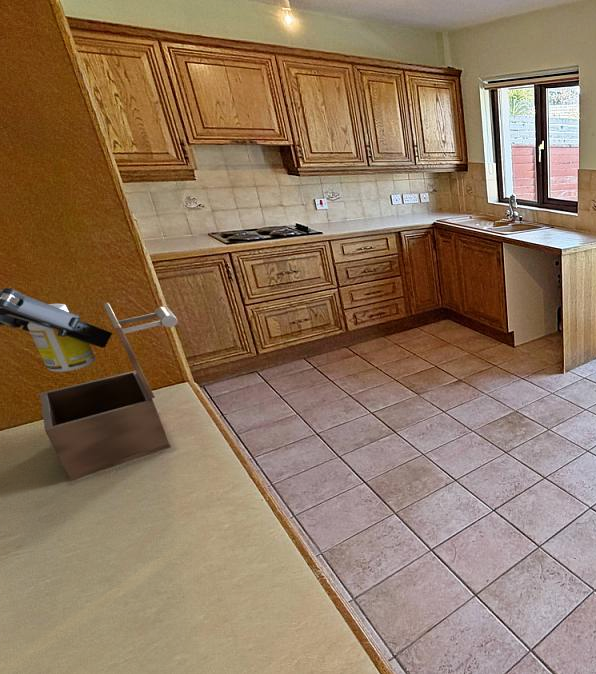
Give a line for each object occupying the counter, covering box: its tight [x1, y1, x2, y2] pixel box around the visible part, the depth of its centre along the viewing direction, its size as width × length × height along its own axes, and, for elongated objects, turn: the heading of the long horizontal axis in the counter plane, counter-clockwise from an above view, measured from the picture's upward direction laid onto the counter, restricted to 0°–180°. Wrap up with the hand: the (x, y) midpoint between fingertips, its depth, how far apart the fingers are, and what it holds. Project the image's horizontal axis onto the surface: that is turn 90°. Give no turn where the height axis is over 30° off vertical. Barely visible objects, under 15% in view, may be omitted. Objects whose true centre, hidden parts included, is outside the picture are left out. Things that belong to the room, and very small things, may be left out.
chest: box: [39, 370, 172, 482], centre depth 83 cm, size 13×16×10 cm
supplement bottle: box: [28, 303, 96, 373], centre depth 76 cm, size 6×6×10 cm
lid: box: [102, 302, 179, 399], centre depth 85 cm, size 14×16×8 cm
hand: (89, 338), depth 80 cm, fingers closed on supplement bottle, 6 cm apart
